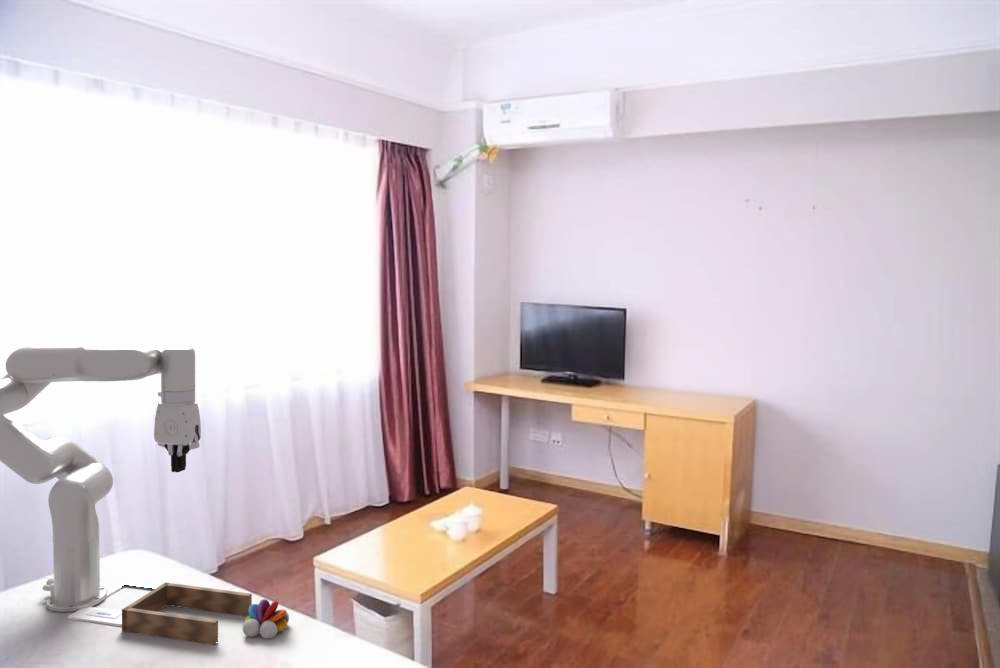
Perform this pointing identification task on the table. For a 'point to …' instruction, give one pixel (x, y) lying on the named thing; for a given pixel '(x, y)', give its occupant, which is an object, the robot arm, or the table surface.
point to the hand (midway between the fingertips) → (178, 470)
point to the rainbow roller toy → (265, 620)
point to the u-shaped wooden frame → (181, 627)
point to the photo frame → (101, 612)
